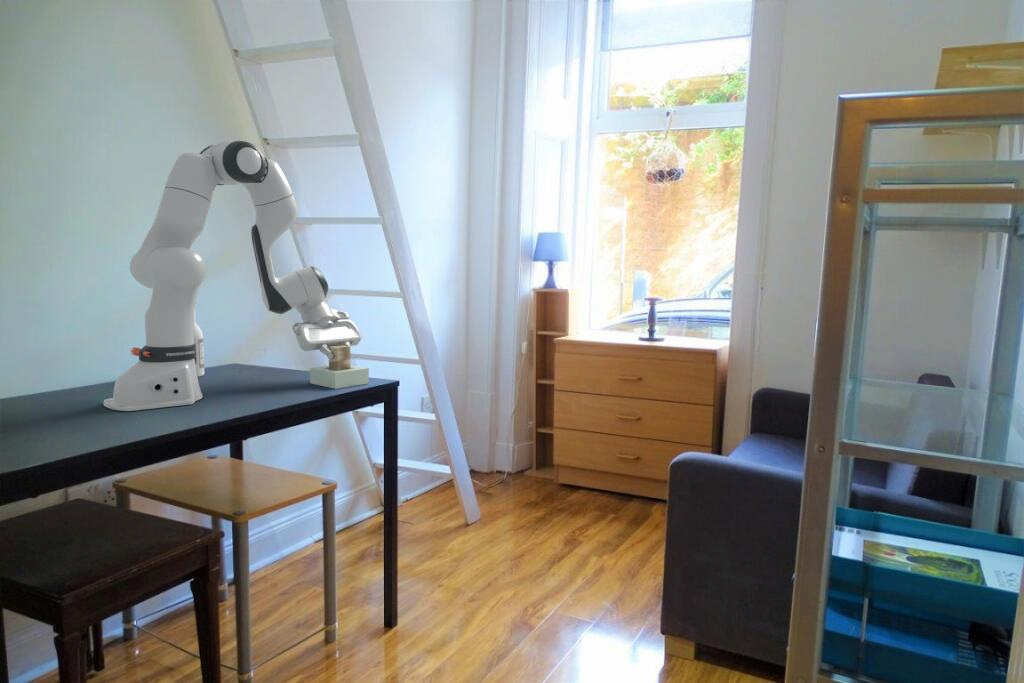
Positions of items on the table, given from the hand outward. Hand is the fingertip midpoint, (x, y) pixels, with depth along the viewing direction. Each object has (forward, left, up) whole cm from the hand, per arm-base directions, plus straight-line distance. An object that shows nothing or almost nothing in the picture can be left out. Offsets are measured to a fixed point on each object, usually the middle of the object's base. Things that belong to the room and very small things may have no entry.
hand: (340, 357), depth 207 cm
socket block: (0, +1, -8) cm, 8 cm away
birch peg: (0, +1, -5) cm, 5 cm away
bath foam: (-24, +42, -8) cm, 49 cm away
